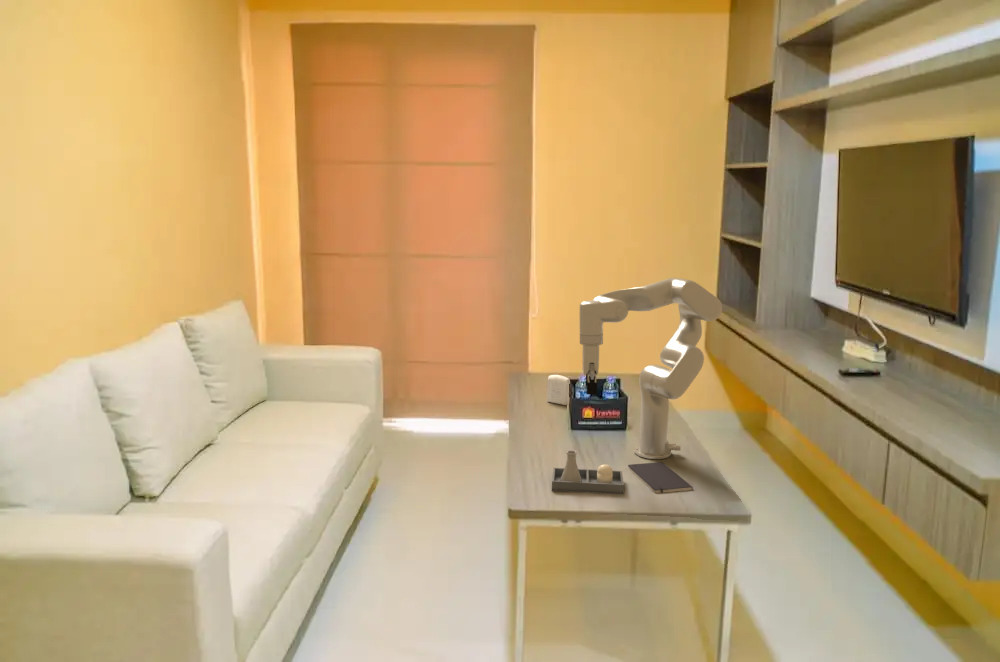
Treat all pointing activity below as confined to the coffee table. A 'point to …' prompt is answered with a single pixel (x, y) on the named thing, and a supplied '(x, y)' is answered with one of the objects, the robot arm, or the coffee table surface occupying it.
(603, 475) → the cream egg
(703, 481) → the coffee table surface
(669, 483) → the notebook
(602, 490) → the tray
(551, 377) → the photo printer
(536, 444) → the coffee table surface
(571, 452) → the flask
